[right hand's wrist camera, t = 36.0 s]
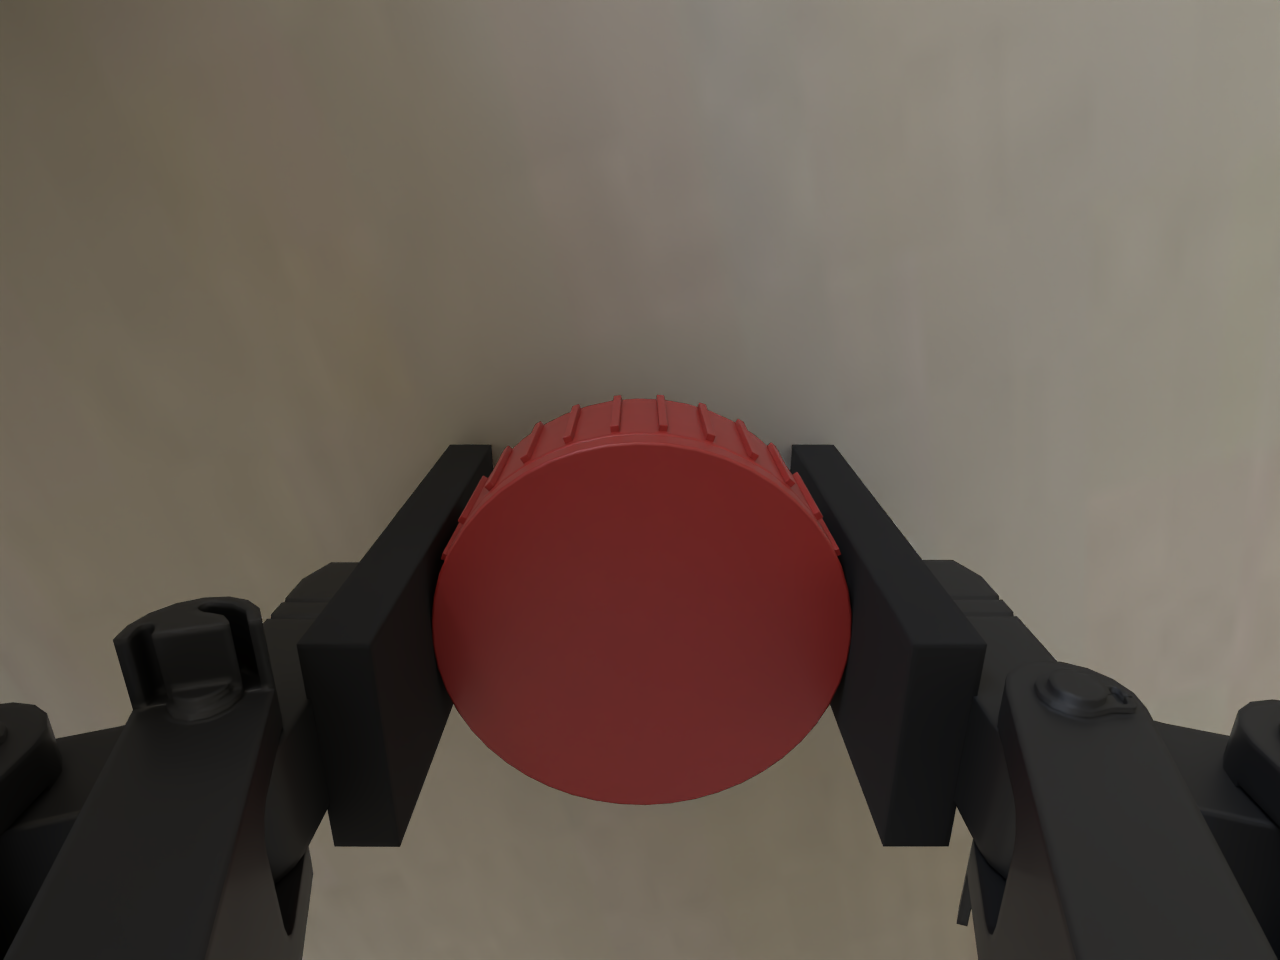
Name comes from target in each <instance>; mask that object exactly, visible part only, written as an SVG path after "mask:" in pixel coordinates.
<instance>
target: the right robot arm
mask: <svg viewBox="0 0 1280 960" xmlns="http://www.w3.org/2000/svg"><path fill="white" fill-rule="evenodd" d="M492 471H493V464H492V450H491V445H450V446H449V447H448V448H447V449H446V451H445V452H444V453H443V455H442V456H441V457H440V459H439V460H438V461H437V462H436V464H435V465H434V466H433V468H432V469H431V470H430V472H429V473H428V474H427V475H426V477H425V478H424V479H423V481H422V482H421V483H420V485H419V486H418V487H417V488H416V490H415V491H414V492H413V494H412V495H411V496H410V497H409V499H408V500H407V501H406V503H405V504H404V505H403V507H402V508H401V509H400V510H399V512H398V513H397V514H396V516H395V517H394V518H393V520H392V521H391V522H390V523H389V525H388V526H387V527H386V529H385V530H384V531H383V533H382V534H381V535H380V536H379V538H378V539H377V540H376V542H375V543H374V544H373V546H372V547H371V548H370V549H369V551H368V552H367V553H366V555H365V556H364V557H363V559H362V560H361V561H360V562H359V563H350V562H331V563H329V564H328V565H326V566H324V567H323V568H321V569H319V570H317V571H316V572H314V573H312V574H310V575H309V576H307V577H305V578H304V579H302V580H301V581H300V583H299V584H298V585H297V586H296V587H295V588H294V589H293V590H292V592H291V593H290V594H289V595H288V596H287V597H286V598H285V602H282V603H281V604H280V605H279V606H278V607H277V609H276V610H275V611H274V612H273V613H272V614H271V619H267V620H266V621H265V622H264V623H263V622H262V617H261V613H260V608H259V607H257V606H256V605H254V604H253V603H252V602H250V601H249V600H244V599H239V598H234V597H209V598H200V599H195V600H191V601H186V602H181V603H176V604H173V605H171V606H168V607H165V608H162V609H160V610H157V611H154V612H151V613H149V614H147V615H145V616H144V617H142V618H140V619H138V620H137V621H135V622H133V623H131V624H129V625H128V626H127V627H125V628H124V629H123V630H122V631H121V632H120V633H119V634H118V635H117V636H116V637H115V638H114V639H113V642H114V645H115V649H116V652H117V656H118V659H119V663H120V666H121V670H122V673H123V677H124V680H125V683H126V687H127V690H128V694H129V697H130V701H131V704H132V708H133V711H132V713H131V715H130V717H129V719H128V721H127V723H126V725H124V726H120V727H115V728H109V729H104V730H99V731H94V732H89V733H83V734H78V735H73V736H68V737H63V738H57V739H55V736H54V733H53V730H52V727H51V724H50V721H49V718H48V715H47V713H46V712H44V711H43V710H41V709H40V708H39V707H37V706H36V705H31V704H22V703H5V704H0V960H302V955H303V947H304V940H305V932H306V924H307V917H308V909H309V901H310V894H311V886H312V878H313V869H312V862H311V856H310V851H309V844H310V842H311V840H312V838H313V836H314V834H315V832H316V830H317V828H318V826H319V824H320V822H321V820H322V819H323V817H324V815H325V813H326V811H327V809H328V814H329V820H330V825H331V830H332V836H333V841H334V846H358V847H400V845H401V842H402V840H403V837H404V834H405V832H406V829H407V826H408V824H409V821H410V818H411V816H412V813H413V810H414V808H415V805H416V802H417V800H418V797H419V794H420V792H421V789H422V786H423V784H424V781H425V778H426V776H427V773H428V770H429V768H430V765H431V762H432V760H433V757H434V754H435V751H436V749H437V746H438V743H439V741H440V738H441V735H442V733H443V730H444V727H445V725H446V722H447V719H448V717H449V714H450V711H451V709H452V706H453V702H452V700H451V698H450V696H449V694H448V693H447V691H446V688H445V686H444V683H443V680H442V678H441V675H440V672H439V670H438V666H437V661H436V657H435V652H434V647H433V636H432V623H431V619H432V608H433V597H434V593H435V589H436V585H437V581H438V577H439V573H440V570H441V568H442V565H443V563H444V560H441V556H442V553H443V551H444V550H445V548H446V546H447V544H448V542H449V540H450V539H451V537H452V535H453V533H454V531H455V529H456V528H457V526H458V524H459V522H458V519H459V518H460V516H461V514H462V512H463V510H464V508H465V507H466V505H467V503H468V501H469V499H470V498H471V496H472V494H473V492H474V490H475V489H476V487H477V485H478V483H479V481H480V480H481V478H482V476H485V477H487V478H489V476H490V474H491V473H492ZM790 472H791V473H792V475H793V474H794V473H796V472H798V474H799V475H800V477H801V478H802V480H803V482H804V484H805V486H806V487H807V489H808V491H809V493H810V494H811V496H812V498H813V500H814V501H815V503H816V505H817V507H818V509H819V510H820V512H821V514H822V516H823V518H822V519H823V521H824V522H825V524H826V526H827V528H828V530H829V531H830V533H831V535H832V537H833V539H834V540H835V542H836V544H837V546H838V547H839V550H840V552H841V555H839V556H837V557H838V559H839V561H840V563H841V566H842V569H843V572H844V576H845V579H846V582H847V586H848V590H849V597H850V604H851V611H852V627H851V641H850V647H849V653H848V660H847V663H846V666H845V669H844V672H843V675H842V678H841V681H840V684H839V686H838V688H837V690H836V692H835V694H834V696H833V698H832V701H831V703H830V705H831V708H832V711H833V713H834V716H835V719H836V721H837V724H838V727H839V729H840V732H841V735H842V737H843V740H844V743H845V745H846V748H847V751H848V753H849V756H850V759H851V761H852V764H853V767H854V769H855V772H856V775H857V778H858V780H859V783H860V786H861V788H862V791H863V794H864V796H865V799H866V802H867V804H868V807H869V810H870V812H871V815H872V818H873V820H874V823H875V826H876V828H877V831H878V834H879V836H880V839H881V842H882V844H883V846H949V842H950V837H951V832H952V826H953V821H954V816H955V811H956V806H957V808H958V810H959V812H960V814H961V816H962V818H963V820H964V822H965V824H966V826H967V827H968V829H969V831H970V833H971V835H972V837H973V842H972V846H971V851H970V856H969V861H968V866H967V871H966V876H965V881H964V885H963V890H962V895H961V900H960V905H959V911H958V918H957V924H960V925H964V926H967V925H968V920H969V916H970V911H971V909H972V915H973V922H974V930H975V938H976V945H977V953H978V960H1280V700H1264V701H1255V702H1250V703H1248V704H1247V705H1245V706H1244V707H1243V708H1241V709H1240V710H1239V711H1238V714H1237V717H1236V720H1235V722H1234V725H1233V728H1232V731H1231V734H1230V736H1227V735H1222V734H1216V733H1211V732H1206V731H1201V730H1196V729H1190V728H1185V727H1180V726H1175V725H1170V724H1165V723H1161V722H1157V721H1153V719H1152V717H1151V715H1150V713H1149V712H1148V710H1147V708H1146V707H1145V706H1144V705H1143V703H1142V702H1141V701H1140V700H1139V699H1138V697H1137V696H1136V695H1135V694H1134V693H1133V692H1131V691H1130V690H1128V689H1127V688H1125V687H1124V686H1122V685H1121V684H1119V683H1118V682H1116V681H1115V680H1113V679H1111V678H1109V677H1107V676H1104V675H1102V674H1100V673H1097V672H1095V671H1093V670H1090V669H1088V668H1084V667H1080V666H1076V665H1072V664H1068V663H1063V662H1057V661H1056V660H1055V658H1054V657H1053V656H1052V655H1051V654H1050V653H1049V652H1048V651H1047V650H1046V648H1045V647H1044V646H1043V645H1042V644H1041V643H1040V642H1039V641H1038V639H1037V638H1036V637H1035V636H1034V635H1033V634H1032V633H1031V632H1030V630H1029V629H1028V628H1027V627H1026V626H1025V625H1024V624H1023V623H1022V621H1021V620H1020V619H1019V618H1018V617H1017V616H1013V611H1012V610H1011V609H1010V608H1009V607H1008V606H1007V605H1006V604H1005V602H1004V601H1003V600H999V596H998V595H997V593H996V592H995V591H994V590H993V589H992V588H991V587H990V586H989V584H988V583H987V582H986V581H985V580H984V579H983V578H982V577H981V576H980V575H978V574H976V573H974V572H973V571H971V570H969V569H967V568H966V567H964V566H962V565H961V564H959V563H957V562H955V561H954V560H922V559H921V558H920V556H919V555H918V554H917V553H916V551H915V550H914V549H913V547H912V546H911V545H910V543H909V542H908V541H907V540H906V538H905V537H904V536H903V534H902V533H901V532H900V530H899V529H898V528H897V527H896V525H895V524H894V523H893V521H892V520H891V519H890V517H889V516H888V515H887V514H886V512H885V511H884V510H883V508H882V507H881V506H880V505H879V503H878V502H877V501H876V499H875V498H874V497H873V495H872V494H871V493H870V492H869V490H868V489H867V488H866V486H865V485H864V484H863V482H862V481H861V480H860V479H859V477H858V476H857V475H856V473H855V472H854V471H853V469H852V468H851V467H850V466H849V464H848V463H847V462H846V460H845V459H844V458H843V457H842V455H841V454H840V453H839V451H838V450H837V449H836V447H835V446H834V445H792V457H791V470H790Z"/></svg>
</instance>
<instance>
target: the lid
mask: <svg viewBox="0 0 1280 960" xmlns="http://www.w3.org/2000/svg"><path fill="white" fill-rule="evenodd" d="M822 518H823V516H822V514H821V512H820V510H819V509H818V507H817V505H816V503H815V501H814V500H813V498H812V496H811V494H810V493H809V491H808V489H807V487H806V486H805V484H804V482H803V480H802V478H801V477H800V475H799V474H798V472H796V473H794V474H793V475H792V473H791V472H790V471H789V469H788V468H787V466H786V465H785V463H784V461H783V459H782V457H781V455H780V454H779V452H778V450H777V448H776V446H775V445H774V444H773V443H770V444H769V445H768V446H767V445H766V444H764V443H763V442H762V441H761V440H760V439H759V438H757V437H756V436H755V435H754V434H752V433H751V432H749V431H748V430H747V428H746V426H745V424H744V422H743V421H741V420H739V419H737V421H736V422H733V421H731V420H729V419H727V418H725V417H722V416H720V415H718V414H716V413H714V412H712V411H709V410H707V407H706V405H705V404H702V403H699V404H698V407H696V406H692V405H689V404H685V403H679V402H673V401H667V400H665V398H664V395H657V398H656V399H627V400H622V397H621V395H619V396H614V399H613V401H609V402H604V403H599V404H595V405H590V406H586V407H584V408H581V407H580V405H579V404H578V405H575V406H572V410H571V412H570V413H567V414H564V415H562V416H560V417H558V418H556V419H554V420H552V421H550V422H548V423H547V424H545V425H543V423H542V422H541V421H540V422H539V423H537V424H535V426H534V428H533V431H532V433H531V434H530V435H528V436H527V437H525V438H524V439H523V440H522V441H521V442H519V443H518V444H517V445H516V446H515V447H514V448H513V449H512V448H511V447H510V446H507V447H506V448H505V449H504V451H503V452H502V454H501V456H500V458H499V460H498V462H497V464H496V466H495V468H494V470H493V471H492V473H491V474H490V476H489V478H487V477H485V476H482V478H481V480H480V481H479V483H478V485H477V487H476V489H475V490H474V492H473V494H472V496H471V498H470V499H469V501H468V503H467V505H466V507H465V508H464V510H463V512H462V514H461V516H460V518H459V519H458V522H459V524H458V526H457V528H456V529H455V531H454V533H453V535H452V537H451V539H450V540H449V542H448V544H447V546H446V548H445V550H444V551H443V553H442V556H441V560H444V563H443V565H442V568H441V570H440V573H439V577H438V581H437V585H436V589H435V593H434V597H433V608H432V619H431V623H432V636H433V647H434V652H435V657H436V661H437V666H438V670H439V672H440V675H441V678H442V680H443V683H444V686H445V688H446V691H447V693H448V694H449V696H450V698H451V700H452V702H453V704H454V705H455V707H456V709H457V711H458V712H459V714H460V715H461V716H462V718H463V719H464V721H465V722H466V723H467V725H468V726H469V727H470V729H471V730H472V731H473V732H474V733H475V734H476V735H477V736H478V737H479V738H480V740H481V741H482V742H483V743H484V744H485V745H486V746H487V747H488V748H489V749H491V750H492V751H493V752H494V753H495V754H497V755H498V756H499V757H500V758H502V759H503V760H504V761H505V762H506V763H508V764H510V765H511V766H513V767H514V768H516V769H517V770H519V771H521V772H522V773H524V774H525V775H527V776H529V777H531V778H533V779H535V780H537V781H539V782H541V783H543V784H545V785H547V786H549V787H552V788H555V789H558V790H560V791H563V792H566V793H569V794H571V795H575V796H579V797H583V798H587V799H591V800H596V801H602V802H610V803H617V804H635V805H651V804H666V803H674V802H680V801H686V800H692V799H696V798H700V797H703V796H707V795H711V794H714V793H718V792H720V791H723V790H725V789H728V788H730V787H733V786H735V785H738V784H740V783H742V782H744V781H746V780H748V779H750V778H752V777H754V776H756V775H757V774H759V773H761V772H763V771H764V770H766V769H767V768H769V767H770V766H772V765H773V764H775V763H776V762H777V761H779V760H780V759H782V758H783V757H784V756H785V755H786V754H788V753H789V752H790V751H791V750H792V749H793V748H794V747H796V746H797V745H798V744H799V743H800V742H801V741H802V740H803V739H804V738H805V736H806V735H807V734H808V733H809V732H810V731H811V730H812V728H813V727H814V726H815V725H816V724H817V722H818V721H819V719H820V718H821V716H822V715H823V713H824V712H825V711H826V709H827V708H828V706H829V705H830V703H831V701H832V698H833V696H834V694H835V692H836V690H837V688H838V686H839V684H840V681H841V678H842V675H843V672H844V669H845V666H846V663H847V660H848V653H849V647H850V641H851V627H852V611H851V604H850V597H849V590H848V586H847V582H846V579H845V576H844V572H843V569H842V566H841V563H840V561H839V559H838V557H837V556H839V555H841V552H840V550H839V547H838V546H837V544H836V542H835V540H834V539H833V537H832V535H831V533H830V531H829V530H828V528H827V526H826V524H825V522H824V521H823V519H822Z"/></svg>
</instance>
